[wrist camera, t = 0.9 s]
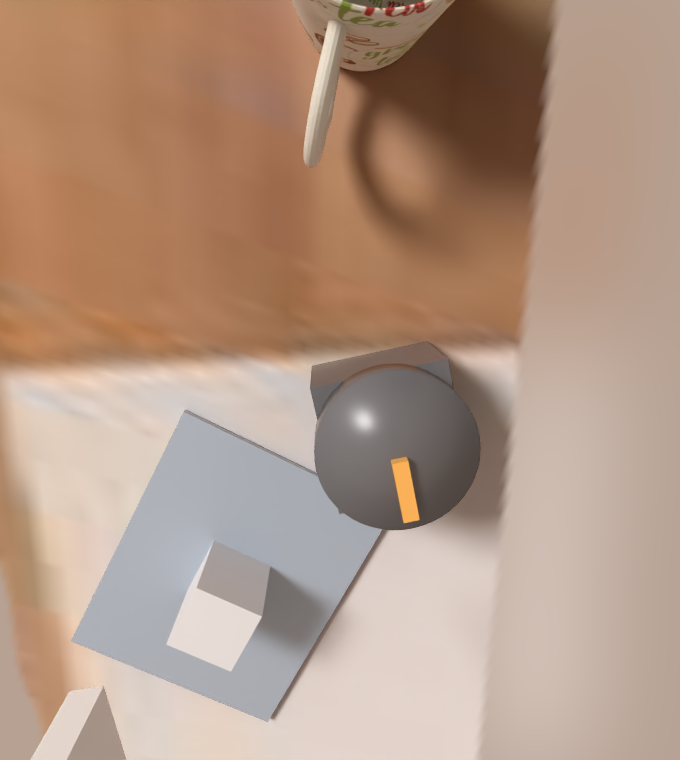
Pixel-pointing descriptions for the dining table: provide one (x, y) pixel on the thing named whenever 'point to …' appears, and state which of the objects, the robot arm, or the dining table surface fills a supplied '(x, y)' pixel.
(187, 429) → the shaft board
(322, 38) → the mug
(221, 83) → the dining table surface
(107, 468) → the dining table surface
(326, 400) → the knob
